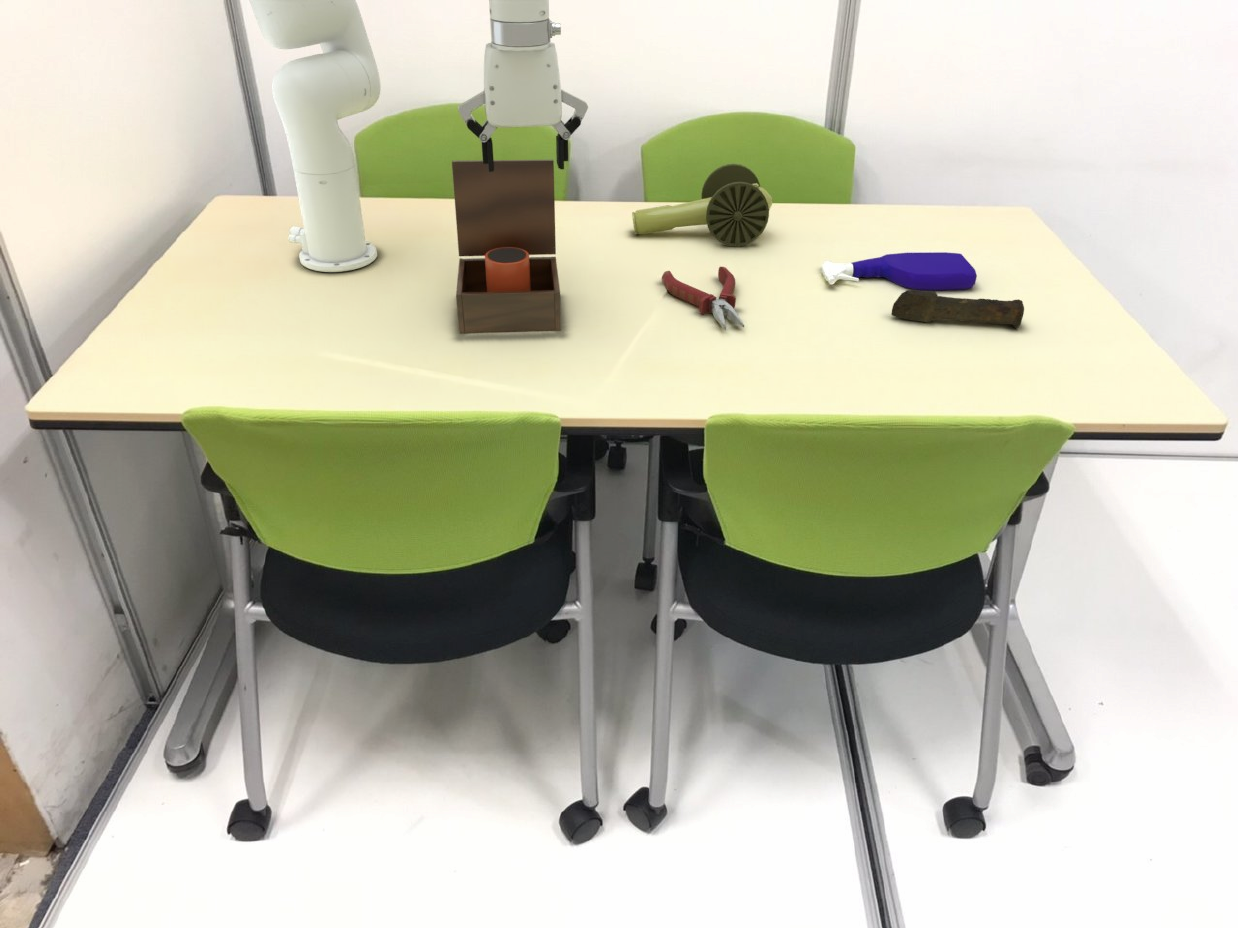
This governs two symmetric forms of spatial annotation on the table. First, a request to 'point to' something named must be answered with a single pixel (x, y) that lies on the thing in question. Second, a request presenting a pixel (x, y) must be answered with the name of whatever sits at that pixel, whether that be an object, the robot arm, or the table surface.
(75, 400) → the table surface
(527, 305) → the box
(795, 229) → the table surface
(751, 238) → the cannon
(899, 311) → the hand tool
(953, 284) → the spray bottle
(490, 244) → the lid
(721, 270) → the pliers
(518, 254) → the tin
